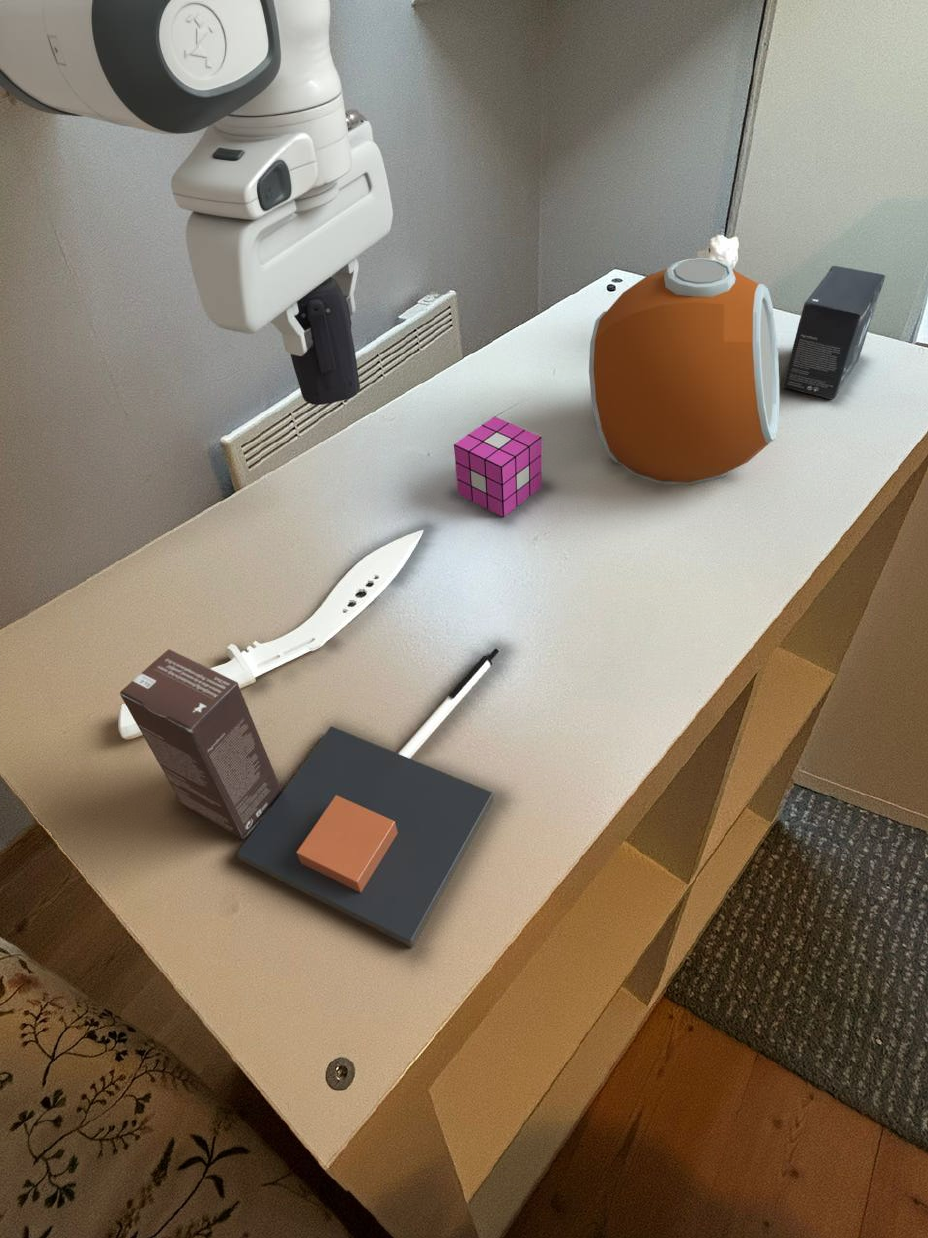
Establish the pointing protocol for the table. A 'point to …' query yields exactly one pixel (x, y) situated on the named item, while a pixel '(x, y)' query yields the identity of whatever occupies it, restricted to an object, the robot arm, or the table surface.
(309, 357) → the two-way radio
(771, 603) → the table surface
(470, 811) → the slate tile
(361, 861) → the orange square block
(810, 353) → the box
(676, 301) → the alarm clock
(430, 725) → the pen
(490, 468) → the puzzle toy
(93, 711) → the table surface
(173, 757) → the box
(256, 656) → the knife
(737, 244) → the white creature statuette
